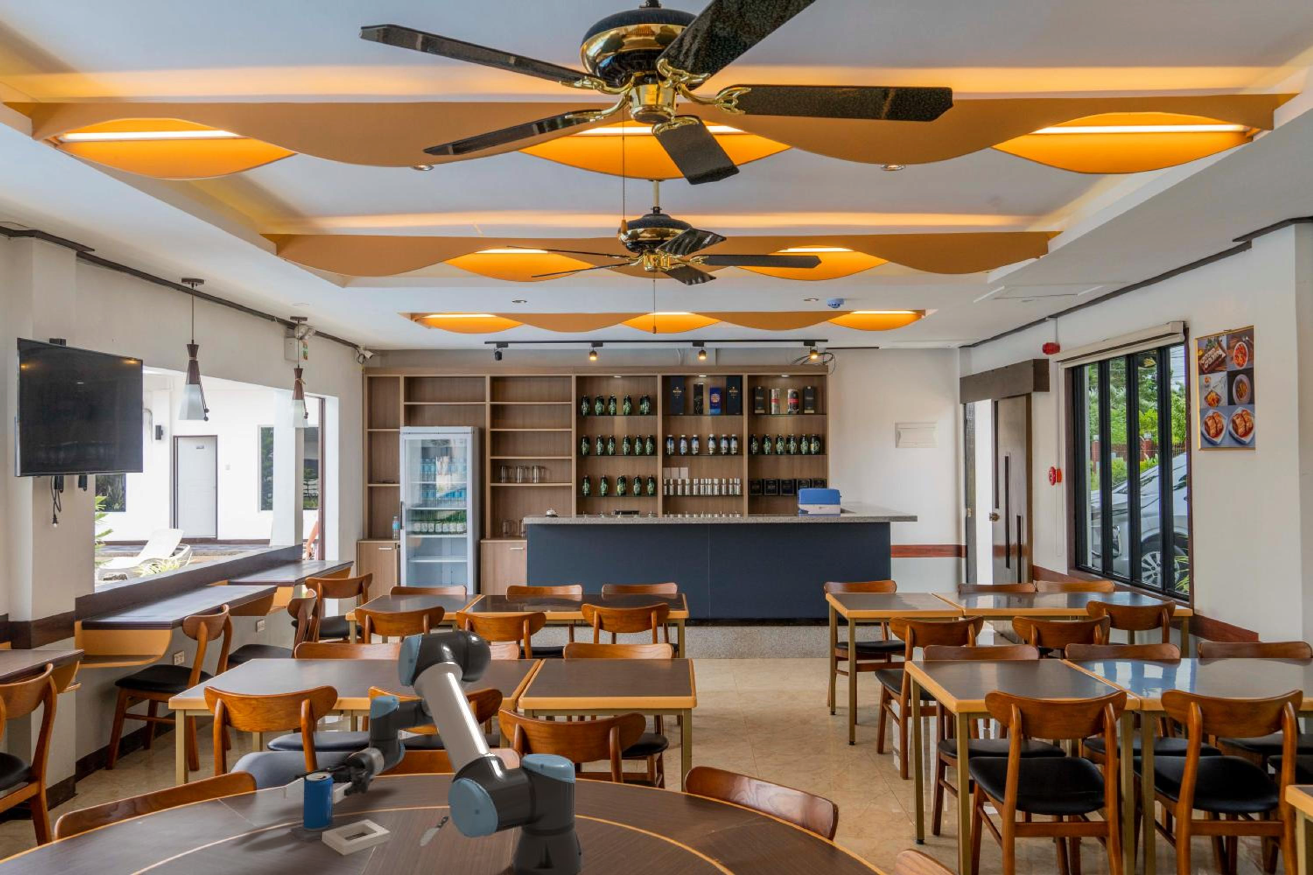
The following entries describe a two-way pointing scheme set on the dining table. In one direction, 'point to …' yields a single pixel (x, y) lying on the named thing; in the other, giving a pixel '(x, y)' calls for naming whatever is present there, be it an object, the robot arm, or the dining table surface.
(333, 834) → the can holder
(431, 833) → the chef's knife
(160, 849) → the dining table surface
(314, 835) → the coaster
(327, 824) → the beverage can
